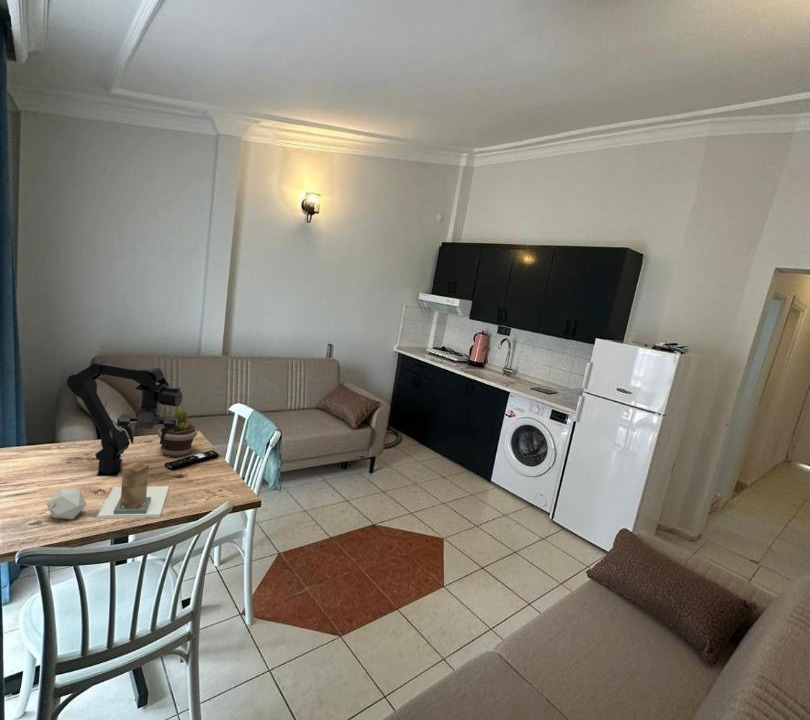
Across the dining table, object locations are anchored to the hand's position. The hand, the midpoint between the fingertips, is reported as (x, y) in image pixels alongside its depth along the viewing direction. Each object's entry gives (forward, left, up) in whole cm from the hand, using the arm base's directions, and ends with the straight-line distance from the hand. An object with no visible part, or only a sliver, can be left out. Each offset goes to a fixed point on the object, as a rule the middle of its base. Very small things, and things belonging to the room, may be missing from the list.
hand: (146, 443), depth 168 cm
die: (-16, -28, -13) cm, 35 cm away
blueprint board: (+1, -20, -13) cm, 24 cm away
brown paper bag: (+1, -25, -11) cm, 27 cm away
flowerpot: (+8, +24, -13) cm, 29 cm away
